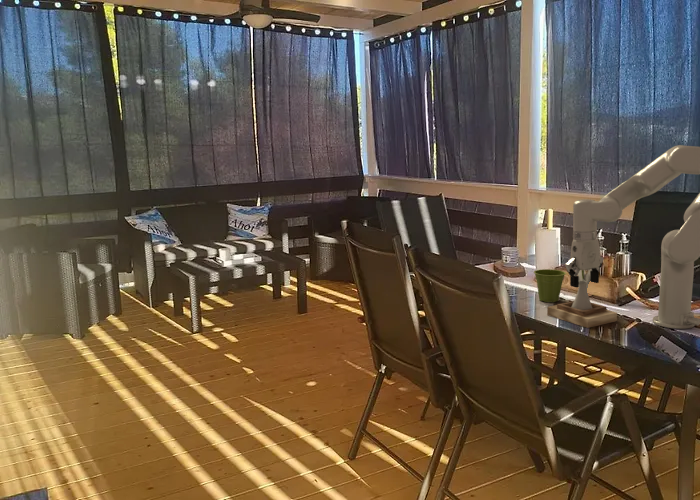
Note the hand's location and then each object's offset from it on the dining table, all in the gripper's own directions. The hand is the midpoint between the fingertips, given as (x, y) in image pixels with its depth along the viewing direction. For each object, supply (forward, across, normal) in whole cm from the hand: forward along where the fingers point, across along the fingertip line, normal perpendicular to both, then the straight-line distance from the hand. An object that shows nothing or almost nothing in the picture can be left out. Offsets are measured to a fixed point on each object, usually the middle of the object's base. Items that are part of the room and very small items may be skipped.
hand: (584, 284), depth 212 cm
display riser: (+12, -1, +1) cm, 12 cm away
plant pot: (+12, +7, +24) cm, 28 cm away
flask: (+9, 0, +1) cm, 9 cm away
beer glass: (+12, +25, +22) cm, 36 cm away
